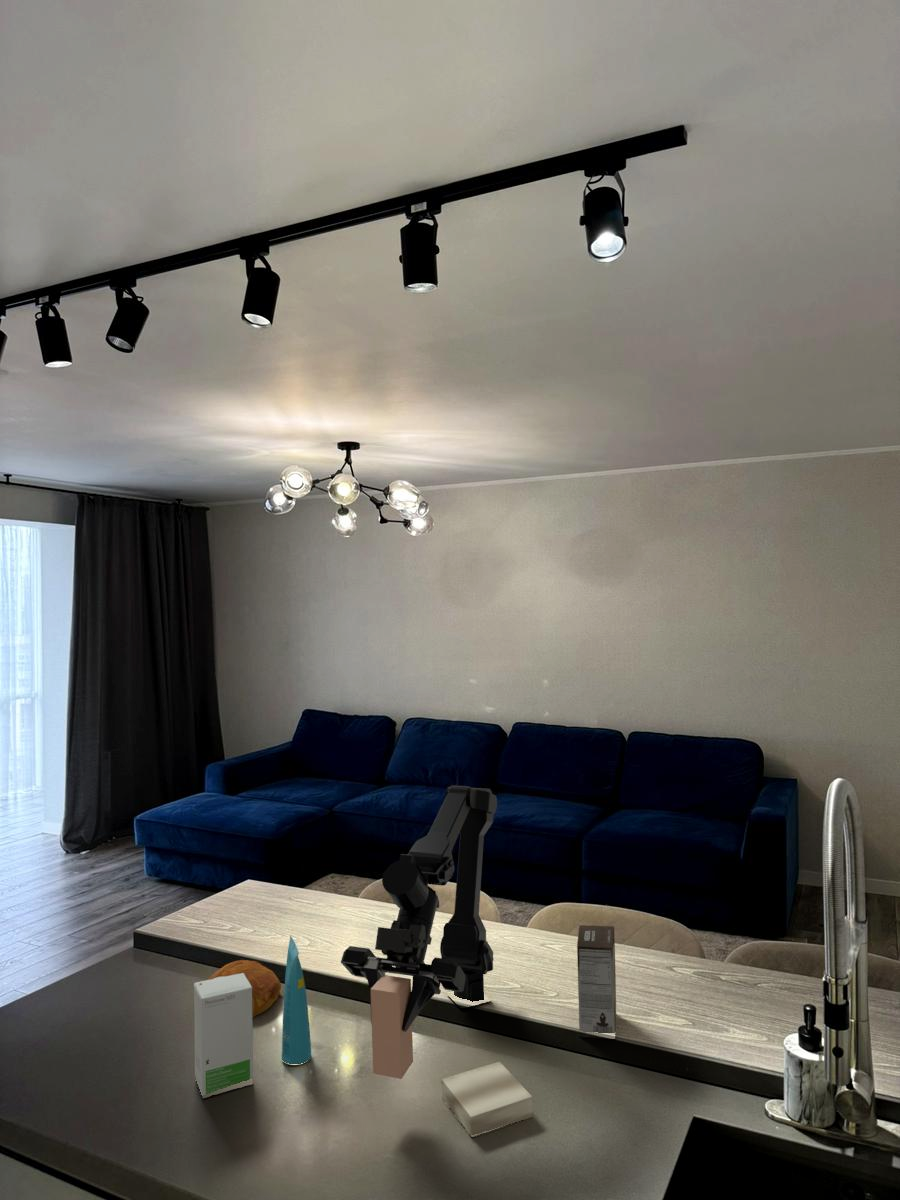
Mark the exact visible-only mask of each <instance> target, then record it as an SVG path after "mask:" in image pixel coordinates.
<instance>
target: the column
mask: <svg viewBox="0 0 900 1200" xmlns="http://www.w3.org/2000/svg"><path fill="white" fill-rule="evenodd" d="M411 991H412V979H411V978H407V977H400V976H394V975H386V974H385V975H383V976H382V977H381V978H380V979H379V980H378V981H377V982H376V984H375V985H374V986H373V987H372V988H371V1006H370V1020H371V1019H372V1024H371V1043H372V1044H371V1046H372V1047H371V1049H372V1073H373V1075H378V1076H379V1075H380V1076H384V1077H389V1078H393V1079H394V1078H395V1079H399V1080H402V1079H403V1077H404V1076H405V1074H406V1073H407V1072H408V1070H409V1068H410V1067H411V1066H412V1064H413V1062H414V1049H413V1048H414V1044H413V1023H412V1024H411V1025H410V1027H409V1028H408V1030H407V1031H406V1032H404V1031H403V1030H402V1024H403V1019H404V1015H405V1011H406V1008H407V1005H408V1001H409V998H410V994H411Z"/></svg>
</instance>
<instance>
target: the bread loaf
mask: <svg viewBox="0 0 900 1200" xmlns="http://www.w3.org/2000/svg"><path fill="white" fill-rule="evenodd" d="M241 973H244V975H245V976H246V978H247V980H248V981H249V983H250V985H251V987H252V1018H254V1017H256V1016H257V1015H260V1014H262V1013H264V1012H265V1011H267V1010H268V1009H270V1008H271V1006H273V1005H274V1003H275V1001H277V999H279V998H278V997H279V996H280V995H281V989H282V984H281V981H280V980H279V978H278V977H277V975H276V973H275V972H274V971H273V970H271V969H269V968H268V967H266V966H264V965H262V964H261V963H260V962H259V961H256V960H247V959H246V960H245V959H240V960H235V961H232V962H229V963H227V964H225V965H224V966H222V967H221V968H219V969H218V970H217V971H214V972H213V974H212V975H211V976H209V977H208V978H207V979H206V980H211V979H214V978H217V977H226V976H231V975H236V974H241Z"/></svg>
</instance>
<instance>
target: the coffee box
mask: <svg viewBox="0 0 900 1200" xmlns="http://www.w3.org/2000/svg"><path fill="white" fill-rule="evenodd" d="M615 941H616V940H615V926H613V925H611V926H609V925H582V924H580V925H579V926H578V934H577V944H576V947H577V948H576V949H577V951H576V952H577V991H578V995H577V996H578V1027H579V1029H578V1030H579V1031H583V1032H598V1033H615V1032H616V1033H617V986H616V985H617V983H616V981H617V980H616V944H615Z"/></svg>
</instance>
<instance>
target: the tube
mask: <svg viewBox="0 0 900 1200" xmlns="http://www.w3.org/2000/svg"><path fill="white" fill-rule="evenodd" d="M299 954H300V952H299V949H298V946H297V944H296V942H295V940H294V938H293V936H292V934H290V936H289V943H288V948H287V955H286V956H287V957H286V966H285V967H286V968H285V979H284V989H283V990H284V992H283V993H284V994H283V1007H282V1030H281V1031H282V1032H281V1035H282V1036H281V1037H282V1038H281V1061H282V1060H283V1061H284V1062H286V1063H289V1064H301V1063H304V1062H306V1061H307V1060H309V1059H310V1060H311V1058H312V1043H311V1029H310V1017H309V1008H308V999H307V992H306V991H307V989H306V984H305V977H304V973H303V968H302V965H301V962H300V957H299ZM310 1060H309V1061H310ZM306 1063H307V1062H306Z"/></svg>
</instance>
